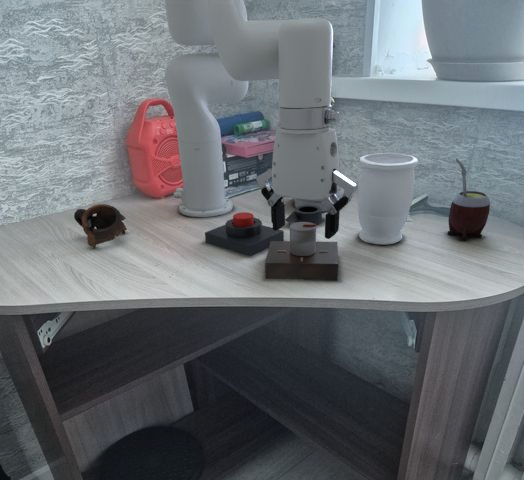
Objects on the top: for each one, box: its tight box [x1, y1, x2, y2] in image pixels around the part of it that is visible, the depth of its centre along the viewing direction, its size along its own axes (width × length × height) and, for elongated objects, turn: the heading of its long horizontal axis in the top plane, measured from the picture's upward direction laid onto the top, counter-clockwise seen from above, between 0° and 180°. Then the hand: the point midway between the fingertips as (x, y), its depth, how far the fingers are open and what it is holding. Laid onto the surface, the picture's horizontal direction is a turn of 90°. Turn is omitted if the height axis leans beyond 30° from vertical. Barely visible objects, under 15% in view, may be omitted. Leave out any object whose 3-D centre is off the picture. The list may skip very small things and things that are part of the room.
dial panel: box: [264, 240, 339, 282], centre depth 83 cm, size 12×10×3 cm
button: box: [232, 211, 255, 227], centre depth 93 cm, size 4×4×2 cm
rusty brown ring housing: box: [73, 203, 128, 249], centre depth 98 cm, size 12×10×8 cm
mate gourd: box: [447, 158, 491, 242], centre depth 90 cm, size 8×8×15 cm
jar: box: [356, 152, 419, 246], centre depth 91 cm, size 11×10×15 cm
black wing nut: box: [285, 205, 328, 227], centre depth 103 cm, size 8×10×3 cm
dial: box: [289, 222, 317, 256], centre depth 81 cm, size 4×4×5 cm
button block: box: [204, 217, 285, 257], centre depth 95 cm, size 12×10×4 cm
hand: (304, 232), depth 80 cm, fingers open, 9 cm apart
